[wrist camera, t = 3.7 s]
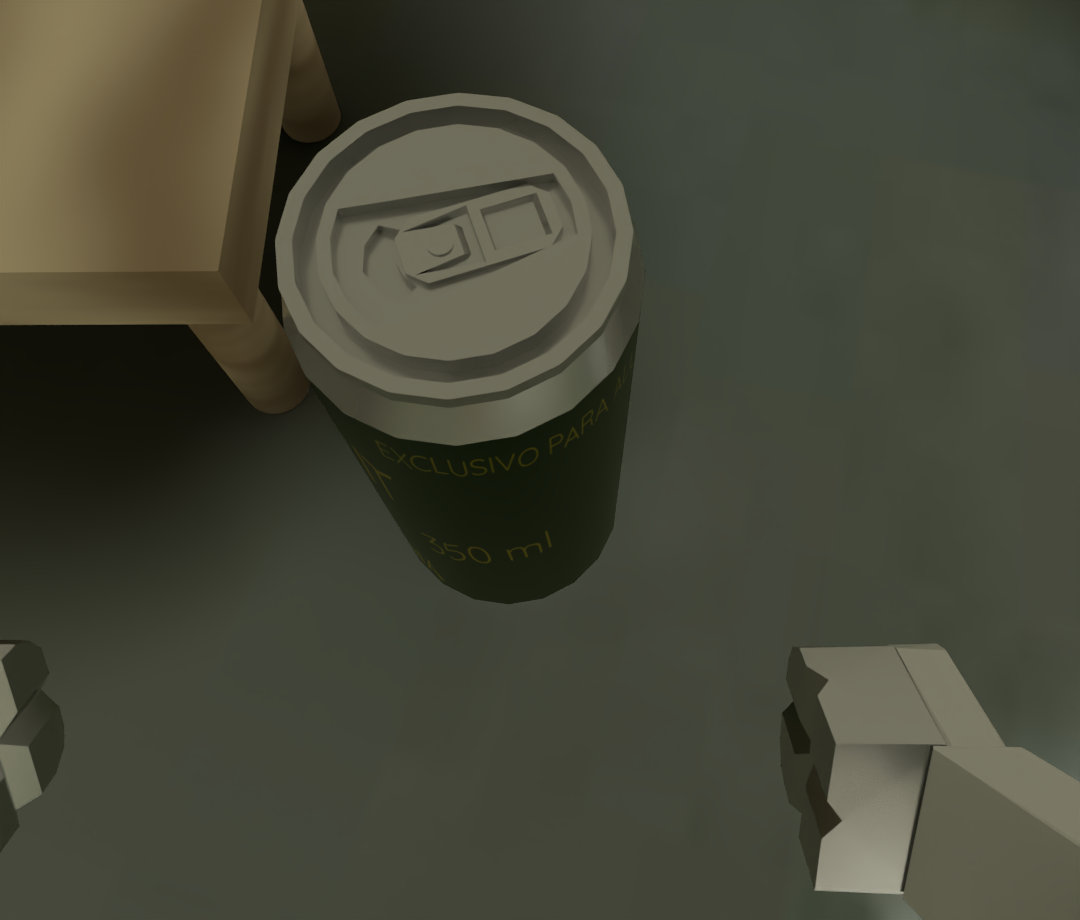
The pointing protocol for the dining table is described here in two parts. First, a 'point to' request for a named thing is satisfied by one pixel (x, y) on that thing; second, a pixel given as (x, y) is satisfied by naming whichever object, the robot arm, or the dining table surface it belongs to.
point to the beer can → (471, 331)
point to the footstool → (154, 168)
